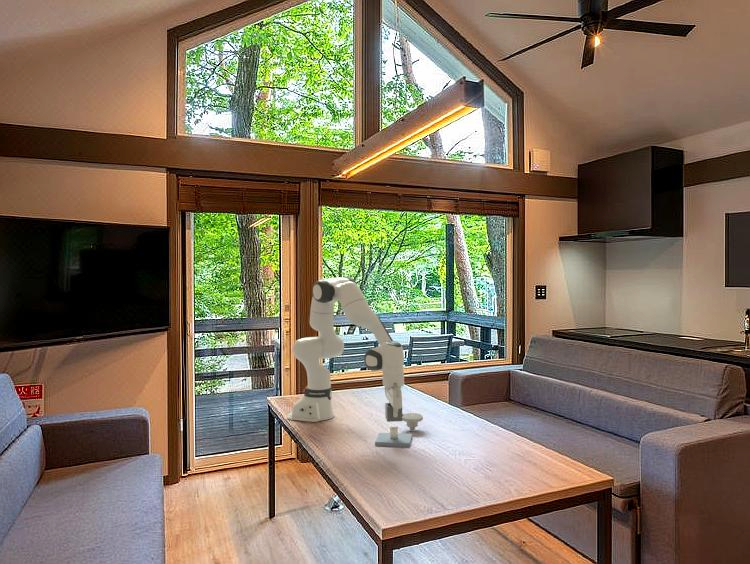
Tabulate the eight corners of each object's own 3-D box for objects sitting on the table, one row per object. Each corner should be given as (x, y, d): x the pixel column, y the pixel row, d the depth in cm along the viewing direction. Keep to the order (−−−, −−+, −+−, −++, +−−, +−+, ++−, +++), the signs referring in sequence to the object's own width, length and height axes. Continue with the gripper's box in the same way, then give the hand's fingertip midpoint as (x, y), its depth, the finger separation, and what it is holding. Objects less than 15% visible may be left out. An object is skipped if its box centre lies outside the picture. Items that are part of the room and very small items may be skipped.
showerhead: (401, 410, 237) (423, 411, 235) (401, 426, 237) (424, 427, 235) (398, 416, 228) (421, 417, 226) (398, 432, 228) (421, 434, 226)
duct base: (375, 445, 212) (374, 430, 211) (379, 436, 224) (379, 422, 223) (409, 447, 210) (409, 432, 209) (412, 437, 221) (411, 423, 221)
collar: (387, 421, 213) (387, 407, 213) (385, 417, 219) (385, 403, 219) (402, 421, 213) (402, 406, 213) (400, 416, 220) (399, 402, 219)
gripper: (405, 386, 206) (406, 420, 206) (396, 375, 226) (396, 407, 227) (389, 386, 205) (390, 421, 205) (382, 376, 225) (382, 408, 226)
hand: (393, 414), depth 216 cm, fingers closed on collar, 6 cm apart
